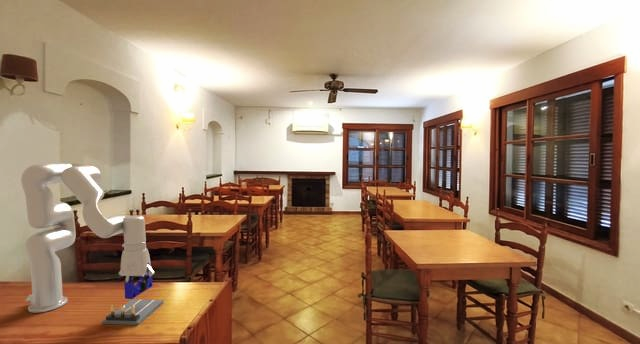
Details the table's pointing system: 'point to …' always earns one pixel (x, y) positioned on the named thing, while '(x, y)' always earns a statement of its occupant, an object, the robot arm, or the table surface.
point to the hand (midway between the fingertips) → (137, 290)
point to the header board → (137, 311)
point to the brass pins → (123, 314)
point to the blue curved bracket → (135, 288)
